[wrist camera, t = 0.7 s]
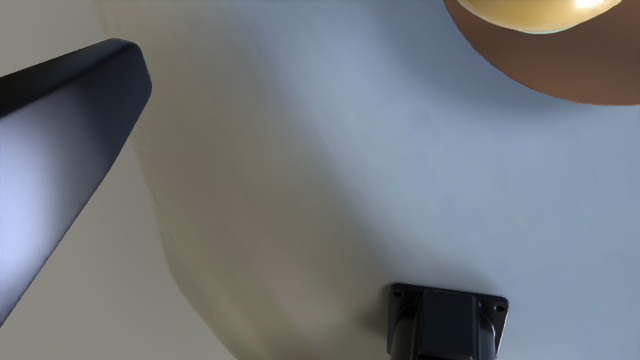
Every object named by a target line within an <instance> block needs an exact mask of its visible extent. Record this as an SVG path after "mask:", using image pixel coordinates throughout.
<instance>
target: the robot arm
mask: <svg viewBox="0 0 640 360" xmlns="http://www.w3.org/2000/svg"><path fill="white" fill-rule="evenodd" d="M151 91H152V82H151V79H150V76H149V73H148V69H147V66H146V63H145V60H144V57H143V54H142V51H141V49H140V47H139V46H138V45H137V44H135V43H134V42H130V41H126V40H122V39H118V38H111V39H108V40H105V41H102V42H99V43H97V44H94V45H91V46H88V47H85V48H83V49H79V50H77V51H74V52H71V53H68V54H65V55H62V56H59V57H57V58H54V59H51V60H48V61H45V62H43V63H39V64H37V65H34V66H31V67H28V68H25V69H22V70H20V71H17V72H14V73H11V74H8V75H5V76H2V77H0V327H1V326H2V325H3V323H4V322H5V320H6V319H7V317H8V316H9V314H10V313H11V312H12V310H13V309H14V307H15V306H16V304H17V302H18V301H19V300H20V298H21V297H22V296H23V294H24V293H25V291H26V290H27V289H28V287H29V286H30V284H31V283H32V281H33V280H34V278H35V277H36V276H37V274H38V273H39V271H40V270H41V268H42V267H43V265H44V264H45V263H46V261H47V260H48V258H49V257H50V255H51V254H52V253H53V251H54V250H55V248H56V247H57V245H58V244H59V242H60V241H61V240H62V238H63V237H64V235H65V234H66V232H67V231H68V229H69V228H70V226H71V225H72V224H73V222H74V221H75V219H76V218H77V217H78V215H79V214H80V212H81V211H82V209H83V208H84V206H85V205H86V204H87V202H88V201H89V199H90V198H91V196H92V195H93V193H94V192H95V191H96V189H97V188H98V186H99V185H100V183H101V182H102V181H103V179H104V178H105V176H106V174H107V173H108V171H109V170H110V168H111V167H112V165H113V163H114V162H115V160H116V158H117V156H118V155H119V153H120V151H121V149H122V147H123V145H124V143H125V142H126V140H127V138H128V136H129V135H130V133H131V131H132V129H133V127H134V125H135V124H136V122H137V120H138V118H139V116H140V114H141V113H142V111H143V109H144V107H145V105H146V103H147V102H148V100H149V98H150V95H151ZM498 305H501V306H498ZM508 312H509V301H508V300H507V299H506V298H504V297H499V296H491V295H484V294H476V293H468V292H461V291H453V290H446V289H438V288H430V287H423V286H415V285H407V284H400V283H396V284H393V285H392V286H391V288H390V294H389V316H388V337H387V353H388V354H389V355H391V357H390V360H496V358H497V354H498V351H499V347H500V343H501V339H502V335H503V331H504V327H505V324H506V320H507V316H508Z"/></svg>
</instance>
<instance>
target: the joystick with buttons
mask: <svg viewBox="0 0 640 360" xmlns="http://www.w3.org/2000/svg"><path fill="white" fill-rule="evenodd" d="M443 1H444V4H445V6H446V9H447V10H448V12H449V14H450V15H451V17H452V19H453V21H454V22H455V24H456V26H457V27H458V29H459V30H460V32H461V33H462V34H463V35H464V37H465V38H466V39H467V40H468V42H469V43H470V44H471V46H472V47H473V48H474V49H475V50H476V51H477V52H478V53H479V54H480V55H481V56H483V57H484V58H485V59H486V60H487V61H488V62H489V63H490V64H491V65H493V66H494V67H495V68H497V69H498V70H500V71H501V72H503V73H504V74H505V75H507V76H508V77H510V78H512V79H514V80H515V81H517V82H519V83H521V84H523V85H525V86H527V87H529V88H531V89H534V90H536V91H539V92H542V93H544V94H547V95H550V96H552V97H556V98H561V99H565V100H569V101H573V102H578V103H586V104H594V105H603V106H633V105H640V0H443Z"/></svg>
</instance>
